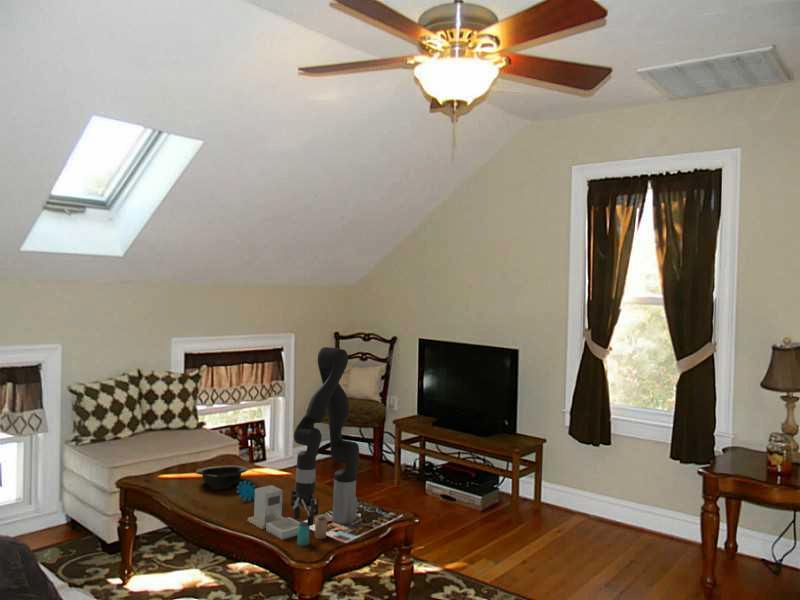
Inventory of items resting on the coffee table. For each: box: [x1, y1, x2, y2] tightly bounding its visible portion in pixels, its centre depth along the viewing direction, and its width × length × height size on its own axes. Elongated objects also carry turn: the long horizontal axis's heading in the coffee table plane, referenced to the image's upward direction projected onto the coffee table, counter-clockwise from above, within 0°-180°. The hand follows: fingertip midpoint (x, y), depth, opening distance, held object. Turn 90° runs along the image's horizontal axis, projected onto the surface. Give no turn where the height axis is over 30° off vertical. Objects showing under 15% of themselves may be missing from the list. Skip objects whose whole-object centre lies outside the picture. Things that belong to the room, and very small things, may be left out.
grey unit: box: [247, 484, 286, 530], centre depth 269 cm, size 12×11×14 cm
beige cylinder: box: [314, 515, 328, 540], centre depth 256 cm, size 4×4×8 cm
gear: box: [236, 480, 256, 502], centre depth 296 cm, size 11×6×10 cm
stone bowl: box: [195, 464, 250, 491], centre depth 314 cm, size 25×25×9 cm
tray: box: [265, 517, 301, 541], centre depth 260 cm, size 11×11×3 cm
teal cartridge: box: [296, 521, 311, 547], centre depth 249 cm, size 4×4×8 cm
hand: (303, 522), depth 249 cm, fingers open, 8 cm apart
